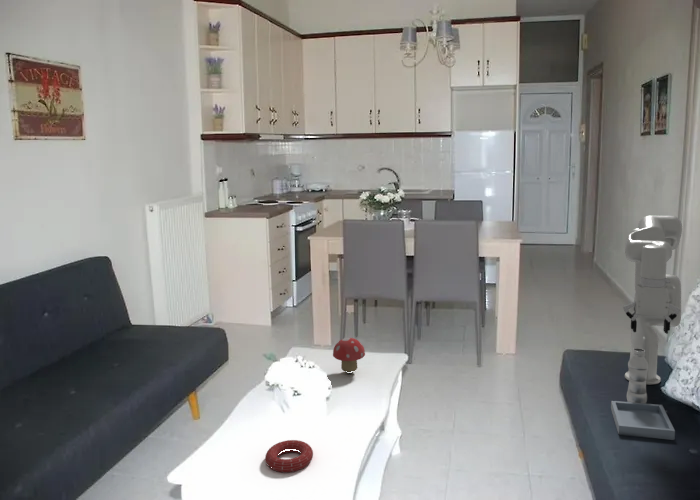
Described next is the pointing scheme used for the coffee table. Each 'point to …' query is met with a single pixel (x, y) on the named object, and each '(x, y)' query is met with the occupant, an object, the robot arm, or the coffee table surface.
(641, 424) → the tray
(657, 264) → the robot arm
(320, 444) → the coffee table surface
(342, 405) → the coffee table surface
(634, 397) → the plastic bottle
